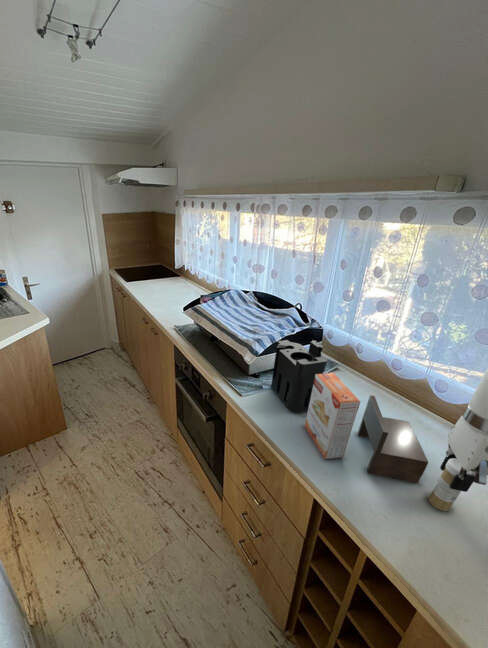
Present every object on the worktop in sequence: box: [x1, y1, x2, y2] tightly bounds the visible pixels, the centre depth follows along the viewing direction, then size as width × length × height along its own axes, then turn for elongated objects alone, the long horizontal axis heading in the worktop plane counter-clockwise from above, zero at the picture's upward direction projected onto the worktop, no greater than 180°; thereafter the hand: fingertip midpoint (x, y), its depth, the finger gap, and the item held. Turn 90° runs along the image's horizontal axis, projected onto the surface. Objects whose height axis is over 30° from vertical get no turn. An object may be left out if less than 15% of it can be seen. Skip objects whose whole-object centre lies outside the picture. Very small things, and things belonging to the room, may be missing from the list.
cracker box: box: [304, 372, 361, 460], centre depth 89 cm, size 14×6×21 cm, turn 5°
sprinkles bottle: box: [428, 458, 473, 512], centre depth 72 cm, size 5×5×14 cm
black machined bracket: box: [270, 339, 329, 413], centre depth 110 cm, size 12×21×22 cm, turn 13°
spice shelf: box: [357, 395, 429, 484], centre depth 85 cm, size 12×16×15 cm
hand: (452, 479), depth 71 cm, fingers closed on sprinkles bottle, 4 cm apart
